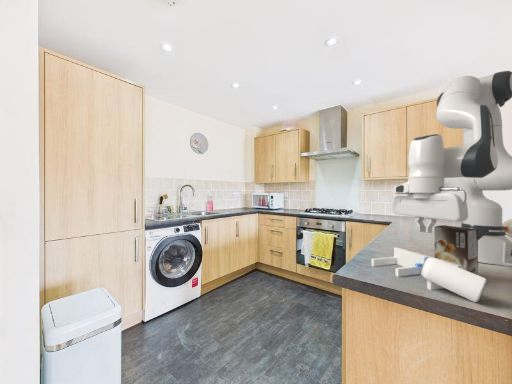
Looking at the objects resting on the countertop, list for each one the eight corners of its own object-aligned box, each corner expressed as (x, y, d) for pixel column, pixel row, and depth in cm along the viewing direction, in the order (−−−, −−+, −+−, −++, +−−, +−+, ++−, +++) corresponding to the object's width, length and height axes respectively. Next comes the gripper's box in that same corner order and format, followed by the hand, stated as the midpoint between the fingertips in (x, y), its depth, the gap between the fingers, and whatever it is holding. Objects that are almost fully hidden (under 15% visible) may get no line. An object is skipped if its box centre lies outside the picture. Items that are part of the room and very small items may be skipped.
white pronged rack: (397, 262, 83) (397, 247, 83) (461, 285, 62) (462, 265, 62) (371, 265, 79) (371, 249, 79) (430, 290, 59) (430, 269, 59)
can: (486, 285, 49) (423, 259, 58) (475, 307, 51) (417, 279, 60) (489, 275, 53) (430, 252, 62) (479, 296, 55) (424, 271, 64)
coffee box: (479, 280, 66) (480, 229, 66) (468, 284, 64) (469, 230, 64) (444, 270, 74) (444, 224, 74) (433, 273, 72) (433, 225, 72)
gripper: (474, 187, 57) (474, 239, 57) (403, 188, 76) (402, 226, 76) (457, 186, 55) (457, 240, 55) (389, 187, 75) (388, 227, 75)
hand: (425, 232), depth 66 cm, fingers closed
